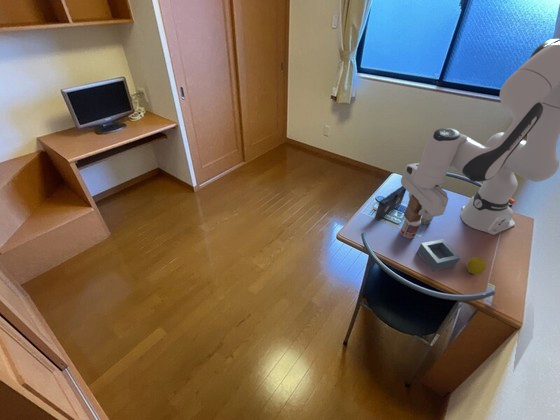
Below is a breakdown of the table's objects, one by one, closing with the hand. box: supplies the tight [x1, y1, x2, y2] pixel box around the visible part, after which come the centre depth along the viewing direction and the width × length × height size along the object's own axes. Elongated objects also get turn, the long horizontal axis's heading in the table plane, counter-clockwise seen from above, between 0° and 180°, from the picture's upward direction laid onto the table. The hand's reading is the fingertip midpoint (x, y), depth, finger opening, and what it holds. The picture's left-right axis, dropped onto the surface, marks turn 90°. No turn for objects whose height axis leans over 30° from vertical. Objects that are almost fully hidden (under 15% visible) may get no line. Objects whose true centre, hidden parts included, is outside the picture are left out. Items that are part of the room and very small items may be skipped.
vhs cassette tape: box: [374, 185, 407, 221], centre depth 131 cm, size 18×3×10 cm, turn 129°
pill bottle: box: [400, 216, 422, 239], centre depth 119 cm, size 6×6×11 cm
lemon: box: [466, 256, 487, 275], centre depth 105 cm, size 6×6×8 cm
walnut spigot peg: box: [403, 195, 422, 222], centre depth 103 cm, size 4×4×10 cm
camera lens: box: [421, 211, 434, 225], centre depth 127 cm, size 6×6×8 cm
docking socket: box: [416, 238, 461, 272], centre depth 111 cm, size 10×10×5 cm
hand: (415, 208), depth 103 cm, fingers closed on walnut spigot peg, 4 cm apart
